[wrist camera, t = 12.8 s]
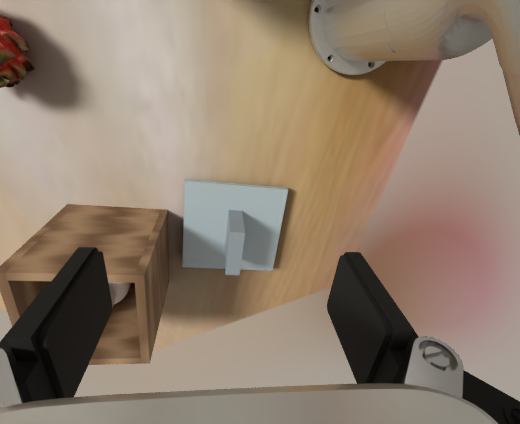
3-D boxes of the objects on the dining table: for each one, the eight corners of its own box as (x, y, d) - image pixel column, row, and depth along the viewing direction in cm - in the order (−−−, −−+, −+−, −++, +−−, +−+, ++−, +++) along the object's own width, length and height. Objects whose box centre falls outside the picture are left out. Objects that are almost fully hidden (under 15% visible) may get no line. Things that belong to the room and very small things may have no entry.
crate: (167, 210, 44) (144, 275, 31) (168, 281, 50) (149, 363, 37) (67, 204, 42) (-7, 272, 28) (81, 280, 48) (26, 366, 35)
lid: (285, 184, 45) (298, 209, 37) (270, 262, 52) (279, 297, 44) (186, 175, 43) (178, 200, 35) (183, 259, 49) (177, 295, 41)
